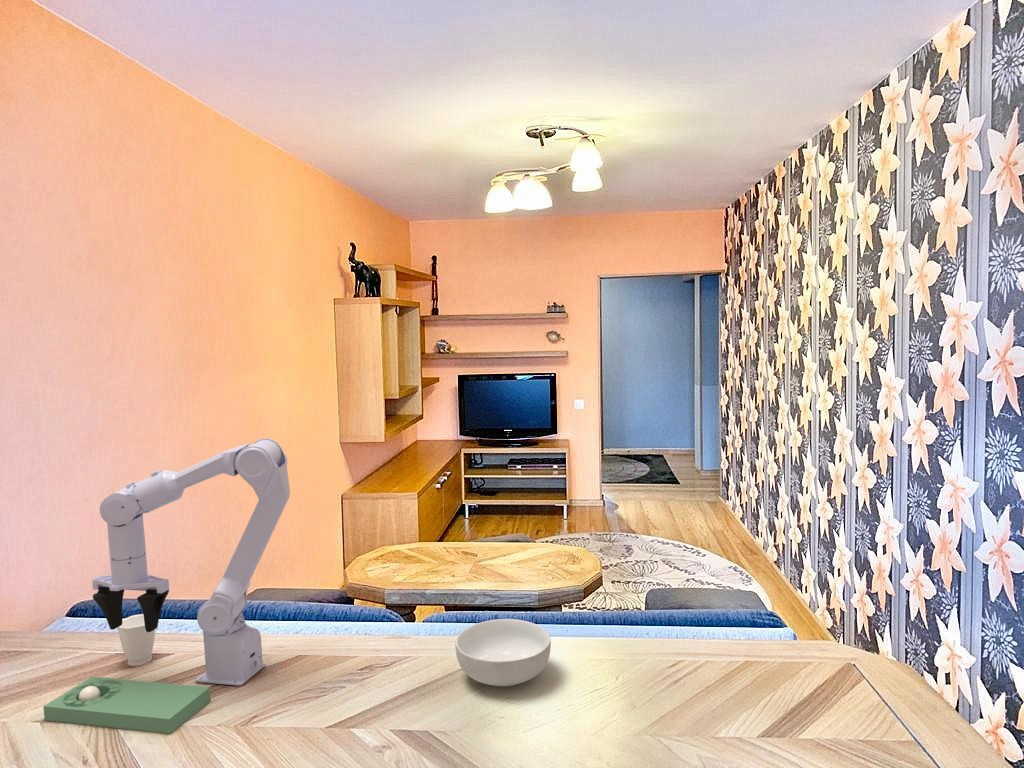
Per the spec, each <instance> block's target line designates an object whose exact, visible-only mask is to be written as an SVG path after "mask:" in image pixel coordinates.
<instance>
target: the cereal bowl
mask: <svg viewBox="0 0 1024 768" xmlns="http://www.w3.org/2000/svg"><path fill="white" fill-rule="evenodd" d="M551 643H552V642H551V636H550V634H549V632H548V631H547V630H546V629H545V628H544V627H542V626H541V625H538V624H536V623H534V622H531V621H527V620H522V619H514V618H500V619H499V618H497V619H490V620H486V621H482V622H480V621H479V622H478V623H475V624H472V625H470V626H468V627H466V628H465V629H463V630H462V631H460V633H459V634H458V635H457V636H456V639H455V645H454V646H455V653H456V658H457V662H458V664H459V666H460V668H461V669H462V671H463V672H464V673H465V674H466V675H467V676H468V677H469V678H470V679H472V680H474V681H475V682H478V683H480V684H481V683H482V684H485V685H488V686H490V685H491V686H493V687H500V688H505V687H512V686H515V685H519V684H522V683H525V682H527V681H530V680H532V679H534V678H535V677H537V676H538V675H539V674H540V673H541V672H542V671H543V669H544V668H545V667H546V665H547V663H548V661H549V658H550V654H551Z"/></svg>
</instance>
